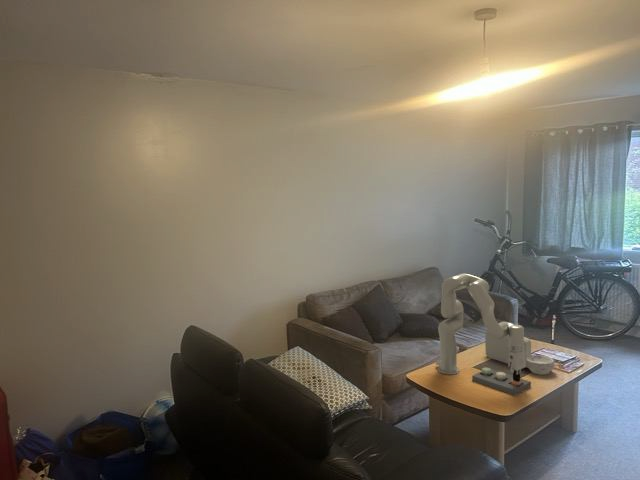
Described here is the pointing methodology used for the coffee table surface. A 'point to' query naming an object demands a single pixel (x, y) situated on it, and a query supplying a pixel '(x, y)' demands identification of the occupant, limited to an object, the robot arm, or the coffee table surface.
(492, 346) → the rounded white slab
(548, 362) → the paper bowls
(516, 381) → the terracotta button
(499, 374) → the cream button
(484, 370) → the sage button
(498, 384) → the console
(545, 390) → the coffee table surface
